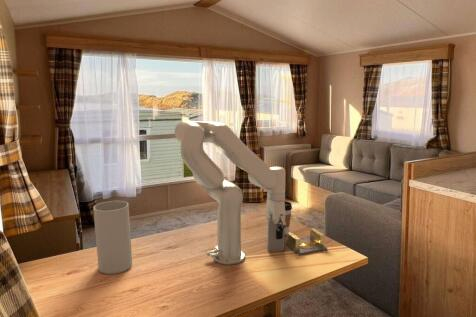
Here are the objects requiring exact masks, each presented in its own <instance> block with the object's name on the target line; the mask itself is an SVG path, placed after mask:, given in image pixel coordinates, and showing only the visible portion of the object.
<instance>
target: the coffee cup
mask: <svg viewBox="0 0 476 317" xmlns="http://www.w3.org/2000/svg"><path fill="white" fill-rule="evenodd" d="M284 203H285V223H286V226H285V228H284V236H285V235H286V236H287V233H288V232H290V226H291V225H290V224H291V216H292V210H293V206H292V203H291V202H289V201H285V200H284Z"/></svg>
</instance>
